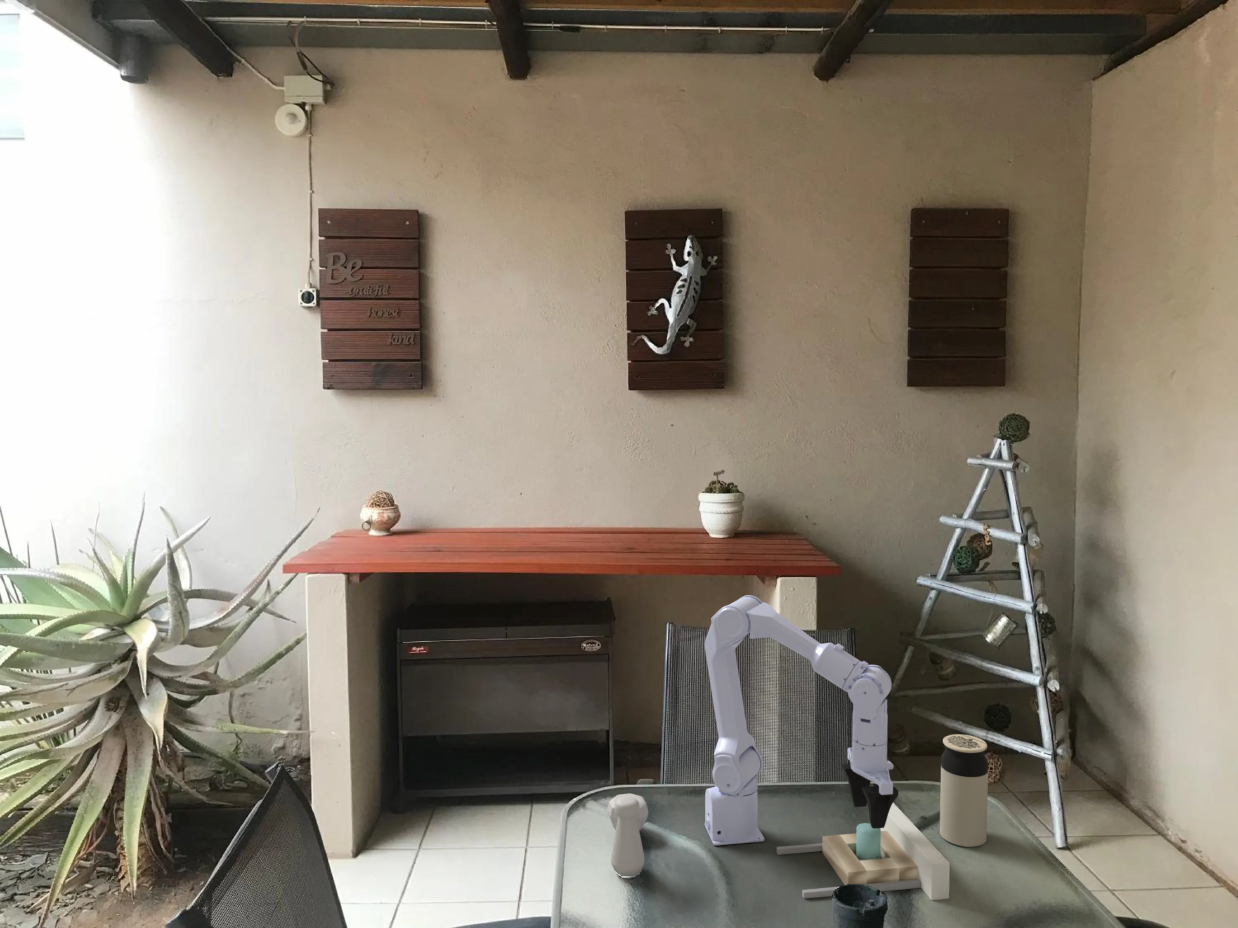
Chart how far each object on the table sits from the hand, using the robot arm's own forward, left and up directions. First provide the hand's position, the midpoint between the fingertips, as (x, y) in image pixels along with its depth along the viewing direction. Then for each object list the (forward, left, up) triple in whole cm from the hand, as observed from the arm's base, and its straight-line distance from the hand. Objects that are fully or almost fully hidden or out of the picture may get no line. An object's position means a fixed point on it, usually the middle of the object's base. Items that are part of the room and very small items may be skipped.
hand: (868, 816), depth 156 cm
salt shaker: (-41, +5, -9) cm, 42 cm away
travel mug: (+21, +7, -9) cm, 24 cm away
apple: (-39, +19, -9) cm, 44 cm away
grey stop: (-2, 0, -9) cm, 9 cm away
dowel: (0, 0, -9) cm, 9 cm away
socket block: (0, 0, -9) cm, 9 cm away
